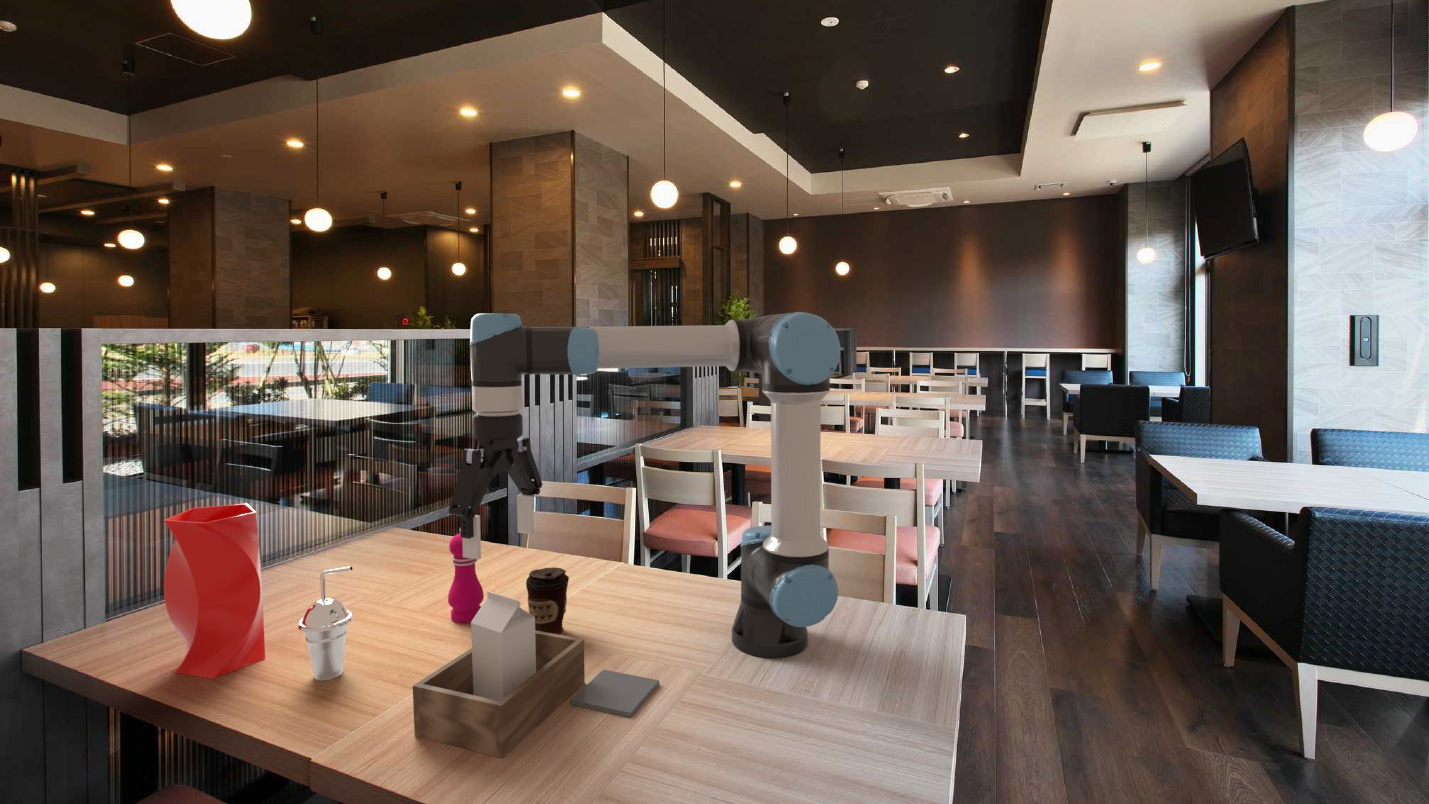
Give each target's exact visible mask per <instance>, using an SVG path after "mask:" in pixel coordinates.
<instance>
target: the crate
mask: <svg viewBox="0 0 1429 804" xmlns="http://www.w3.org/2000/svg"><path fill="white" fill-rule="evenodd" d="M535 645H536V673H535V674H533V675H532V676H531V677H529V678H528V679H527V680H526V681H524V682H523V683H522V684H521V685H519V686H518V687H517V688H516V689H514V690H513V691H512V692H511V693H509V694H508V695H507V696H506V697H504V698H503V699H502V700H501V701H497V700H493V699H488V698H484V697H479V696H475V695H473V668H472V647H471V648H469V649H468V650H466V651H465V652H463V653H461V654H460V655H458V656H457V657H455V658H454V659H452V660H450V661H449V662H447V663H446V664H444V665H443V666H441V667H440V668H438V669H437V670H435V671H434V672H432V673H430V674H428V675H427V676H426V677H424V678H423V679H421V680H420V681H418V682H416V683H415V684H414V685H412V701H413V702H412V703H413V725H414V726H413V728H414V730H413V731H414V736H415V737H418V738H422V739H425V740H430V741H434V742H438V743H441V744H445V745H449V746H453V747H458V748H461V749H464V750H469V751H473V752H477V753H479V754H484V755H488V756H490V757H491V756H492V757H495V758H500V759H504V758H505V757H506V756H507V755H508V754H509V753H510V752H511V751H512V750H514V749H515V748H516V747H517V746H518V745H519V744H521V742H522V741H523V740H524V739H526V738H527V736H529V735H530V734H531V733H532V732H533V731H534V730H535V729H537V727H538V726H540V725H541V724H542V723H543V722H544V721H545V720H546V719H547V718H548V717H549V716H550V715H551V714H552V713H553V712H555V710H557V709H558V708H559V707H560V706H561V705H563V704H564V702H566V701H567V700H568V699H570V698H569V697H571V696H572V695H573V694H575V693H576V691H577V690H578V689H580V688H581V687H582V686H583V685H584V684H585V682H586V681H585V677H586V676H585V639H584V638H581V637H574V636H569V635H564V634H563V635H558V634H553V633H547V632H542V631H536V630H535Z"/></svg>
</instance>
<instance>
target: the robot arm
mask: <svg viewBox="0 0 1429 804" xmlns="http://www.w3.org/2000/svg"><path fill="white" fill-rule="evenodd" d="M469 338H470V340H469V341H470V342H469V348H470V349H469V350H470V352H469V353H470V371H471V372H470V373H471V377H470V378H471V395H472V397H471V399H472V400H471V401H472V405H471V407H472V411H473V412H475V413H474V414H473V416H472V417H471V418H472V425H471V426H472V436H473V438H474V439H476V440H477V442H478V443H477V444H478V445H477V449H473V448H464V449H463V450H462V462H461V467H460V470H459V474H458V477H457V481H456V484H455V488H454V491H453V494H452V497H451V501H450V503H449V508H448V513H449V515H454V516H458V517H459V521H460V527H459V529H460V528H461V529H460V530H461V537H462V541H463V557H465V558H472V559H477V560H480V559H481V558H482V549H481V548H482V543H481V515H479V514H477V513H478V510H479V508H480V506H481V504H482V502H483V499H484V497H485V494H486V492H487V491H488V488H489V486H490V483H491V481H492V479H494V478H496V476H497V474H501V473H503V471H505V472H506V473H507V474H508V476H509V477H510V478H511V480H512V481H513V483H514V485H515V486H516V488H517V489H518V491H519V492H520V493H519V494H517V495H516V511H517V512H516V515H517V519H516V521H517V533H518V534H525V535H534V534H535V531H534V530H535V529H534V528H535V527H534V520H535V518H534V511H535V495H537V496H538V495H540V493H541V488H542V487H543V482H542V478H541V476H540V472H539V469H538V467H537V464H536V461H535V459H534V458H535V457H534V455H533V452H532V448H531V439H530V437H522V436H523V434H524V431H523V430H524V427H523V419H524V418H523V415H522V414H521V413H519V412H520V411H522V410H523V408H524V407H523V406H524V405H523V381H522V379H523V378H522V376H523V375H528V376H529V375H574V376H580V375H592V374H595V373H596V372H597V371H598V369H599V370H600V369H603V370H604V369H637V368H638V369H641V368H642V369H644V368H647V369H648V368H649V369H651V368H687V367H688V368H691V367H692V368H693V367H694V368H695V367H726V368H727V369H728V370H729V372H749V373H750V372H751V373H756V374H761V375H762V376H761V378H762V379H761V381H762V383H761V385H762V386H761V387H762V388H761V389H762V391H761V392H762V393H763V394H764V395H765V396H766V398H768V399H769V401H770V438H771V440H770V455H771V457H770V458H771V459H770V462H771V463H770V468H771V469H770V473H771V475H770V477H771V480H770V483H771V484H770V487H771V488H770V489H771V490H770V494H771V498H770V499H771V504H770V505H771V506H770V507H771V508H770V509H771V515H770V516H771V520H770V521H771V525H760V526H759V525H758V526H751V527H749V528H746V529H745V530H744V531H743V532H742V535H741V544H740V550H741V551H740V552H741V553H740V558H741V559H740V560H741V561H740V565H741V566H740V568H741V569H740V603H739V607H738V609H737V613H736V616H735V619H734V620H733V624H732V627H731V642H732V644H733V645H734V646H735V647H736V648H737V649H738V650H739V651H741V652H743V653H746V654H749V655H752V656H756V657H763V658H786V657H789V656H790V657H791V656H793V655H796V654H800V653H801V652H803V650H805V649H804V648H807V646H808V644H807V643H808V642H809V641H808V640H809V639H808V638H809V637H808V636H809V633H808V628H809V627H812V626H814V625H817V624H819V623H821V622H822V621H823V620H825V619H826V617H827V616H828V615H829V614H831V613H832V612H833V610H834V608H835V606H836V604H837V603H838V602H837V601H838V599H839V586H838V582H837V579H836V576H835V575H834V574H833V572H832V571H831V570H829V568H830V567H829V565H830V563H829V561H830V559H829V558H830V556H829V554H830V551H829V550H830V546H829V543H828V542H827V540H825V539H824V538H823V537H822V536H821V440H822V439H821V427H822V426H821V420H822V419H821V410H822V409H821V408H822V406H821V405H822V404H821V403H822V400H824V398H825V397H826V396H827V395H828V394H829V393H830V392H831V390H830V388H831V385H830V384H831V375H832V374H833V373H834V371H836V369H837V367H838V365H839V362H840V357H841V344H840V339H839V336H838V334H837V332H836V330H835V328H834V327H833V326H832V325H831V324H830V323H829V322H828V321H827V320H826V319H824V318H822V317H821V316H819V315H816V314H812V313H809V312H805V311H804V312H802V311H795V312H787V313H774V314H773V313H772V314H769V315H764V316H759V317H755V318H754V317H752V318H747V319H729V320H728V321H727V322H726V323H725V324H721V325H720V324H719V325H715V324H714V325H649V326H648V325H642V326H639V325H637V326H632V325H631V326H627V325H626V326H542V327H541V326H539V327H537V326H536V327H533V326H525V325H523V324H522V321H521V315H519V314H517V313H489V312H488V313H484V312H483V313H476V314H475V315H473V317H471V321H470V337H469Z"/></svg>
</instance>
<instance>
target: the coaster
mask: <svg viewBox="0 0 1429 804" xmlns="http://www.w3.org/2000/svg"><path fill="white" fill-rule="evenodd" d="M659 686H660V680H659V679H654V678H650V677H649V678H648V677H644V676H638V675H634V674H629V673H624V672H618V671H612V670H608V669H602V670H601V671H599V673H598V674H597V675H595V677H593V679H591V680H590V681H589V682H588V683H587V684H586V685H585V686H584V687H583V688H582V689H581V690H580V691H579V692H577V693H576V694H575V695H574V696H573V697H571V699H570V705H571V706H576V707H580V708H585V709H589V710H595V711H598V712H604V713H609V714H613V715H617V716H622V717H628V718H632V717H633V715H634V714H635V713H636V712H637V711H638V709H640V708H641V706H642V705H643V704H644V703H645V701H647V699H649V697H650V696H651V695H652V694H653V692H654V691H655V690H656V689H657V688H658V687H659Z"/></svg>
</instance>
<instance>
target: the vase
mask: <svg viewBox="0 0 1429 804" xmlns="http://www.w3.org/2000/svg"><path fill="white" fill-rule="evenodd" d="M163 521H164V523H165V524H166V526H167V528H168V529H169V531H170V532H171V534H172V535H173V537H174V541H173V544H172V546H171V549H170V552H169V556H168V559H167V562H166V563H167V564H166V567H165V572H164V580H163V597H164V599H163V600H164V604H165V605H164V606H165V609H166V611H167V614H168V618H169V619H170V622H171V623H172V625H173V627H174V628H175V629H176V631H177V632H178V634H179V635H180V636H181V638H182V639H183V640H184V642H185V645H186V653H185V655H184V658H183V659H182V661H181V662H180V664H179V666H178V667H177V668H176V670H175V671H174V673H175V674H180V675H181V674H182V675H187V676H193V677H198V678H199V677H200V678H205V679H210V680H213V679H215V678H218V677H221V676H223V675H227V674H229V673H232V672H234V671H237V670H240V669H243V668H245V667H248V666H251V665H253V664H256V663H259V662H262V661H265V660H266V645H265V643H266V642H265V619H264V601H263V583H262V582H263V580H262V567H261V555H260V553H261V552H260V540H259V539H260V538H259V530H258V520H257V511H255V509H254V508H252V507H251V505H250V504H249V503H237V504H236V503H235V504H227V505H225V504H224V505H216V506H214V505H213V506H211V505H210V506H201V507H193V508H190V509H187V510H185V511H183V512H180V513H178V514H176V515H172V516H170V517H168V518H165V519H164V520H163ZM261 660H262V661H261Z"/></svg>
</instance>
